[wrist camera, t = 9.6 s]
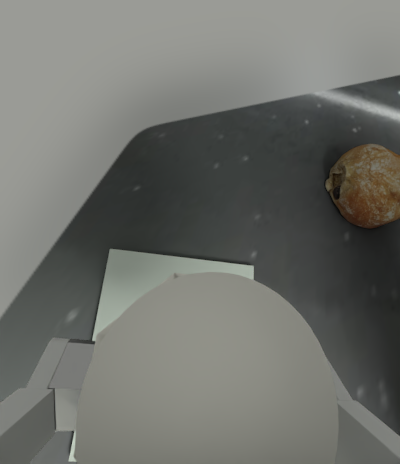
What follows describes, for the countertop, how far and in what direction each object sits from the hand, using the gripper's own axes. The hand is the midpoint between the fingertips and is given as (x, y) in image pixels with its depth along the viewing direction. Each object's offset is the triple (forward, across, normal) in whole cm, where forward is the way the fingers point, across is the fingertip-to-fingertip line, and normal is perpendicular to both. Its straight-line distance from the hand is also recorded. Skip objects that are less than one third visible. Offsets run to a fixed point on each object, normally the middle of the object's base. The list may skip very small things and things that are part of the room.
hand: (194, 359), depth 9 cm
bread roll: (+25, -23, -2) cm, 34 cm away
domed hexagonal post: (+4, 0, +5) cm, 6 cm away
